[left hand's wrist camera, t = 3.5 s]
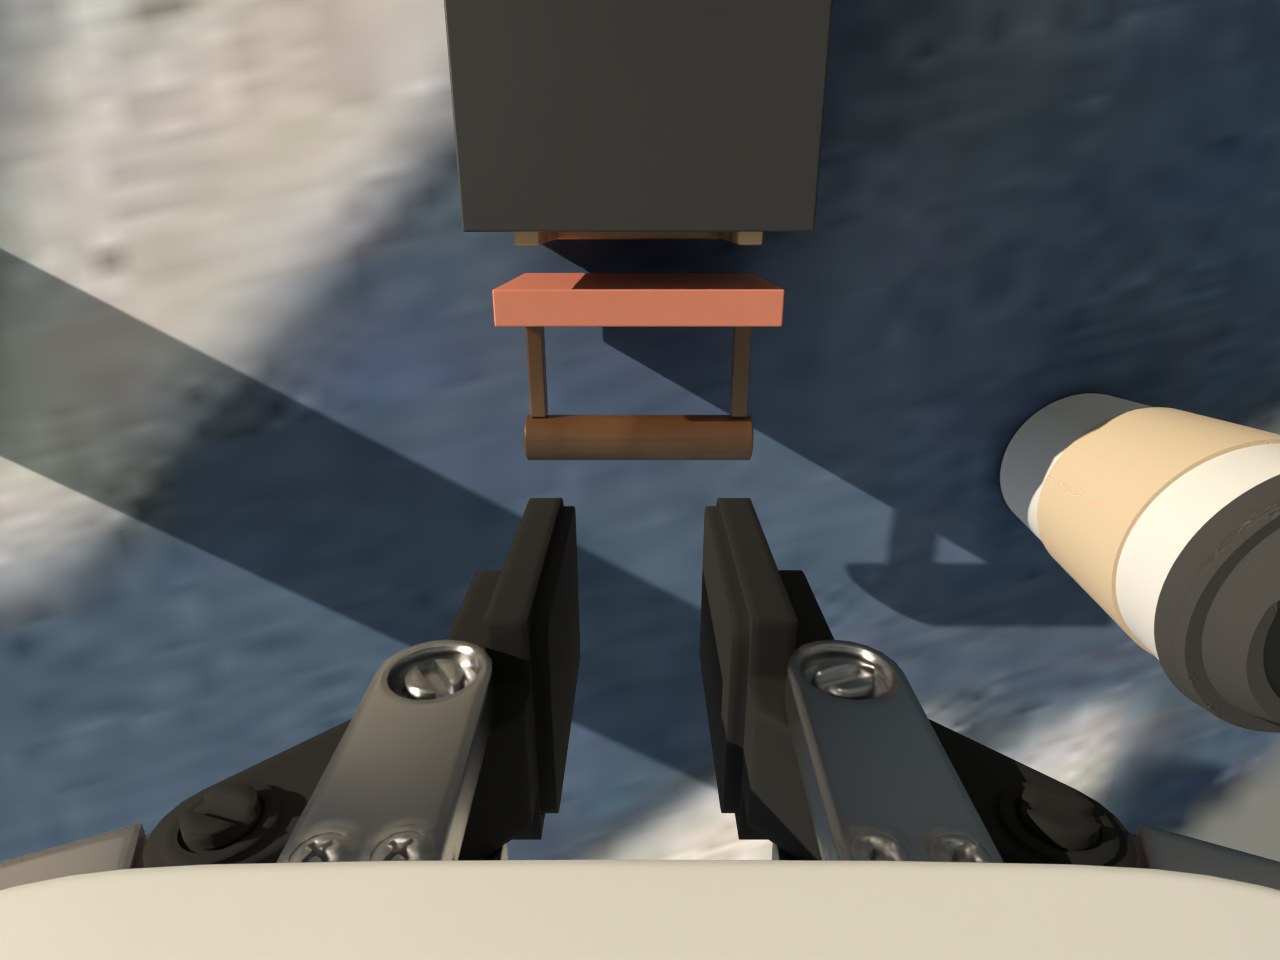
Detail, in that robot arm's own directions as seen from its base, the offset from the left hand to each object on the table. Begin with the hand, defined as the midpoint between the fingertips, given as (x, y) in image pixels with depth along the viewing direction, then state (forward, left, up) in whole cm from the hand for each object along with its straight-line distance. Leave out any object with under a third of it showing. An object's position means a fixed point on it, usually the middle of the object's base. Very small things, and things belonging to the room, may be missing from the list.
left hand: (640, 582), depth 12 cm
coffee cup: (+16, +14, -21) cm, 30 cm away
